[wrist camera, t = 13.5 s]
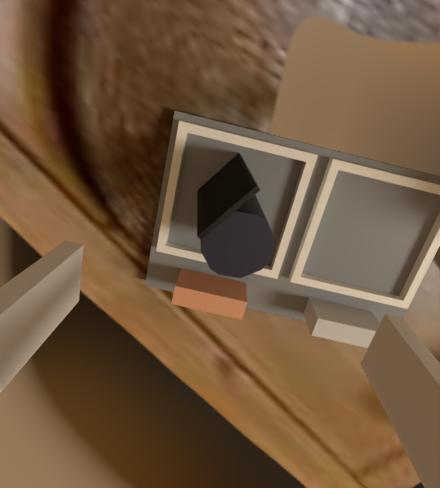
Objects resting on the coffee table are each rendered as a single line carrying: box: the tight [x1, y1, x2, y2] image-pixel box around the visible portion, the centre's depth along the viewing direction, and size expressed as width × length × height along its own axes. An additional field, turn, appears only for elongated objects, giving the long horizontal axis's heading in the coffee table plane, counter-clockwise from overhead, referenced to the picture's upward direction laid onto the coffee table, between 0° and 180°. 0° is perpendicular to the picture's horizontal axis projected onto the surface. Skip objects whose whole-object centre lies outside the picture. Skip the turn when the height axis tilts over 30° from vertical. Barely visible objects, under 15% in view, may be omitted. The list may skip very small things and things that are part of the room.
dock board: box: [145, 111, 440, 348], centre depth 32 cm, size 18×28×5 cm, turn 77°
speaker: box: [197, 153, 276, 278], centre depth 28 cm, size 8×6×10 cm
